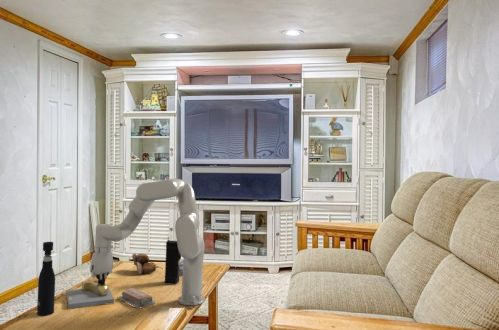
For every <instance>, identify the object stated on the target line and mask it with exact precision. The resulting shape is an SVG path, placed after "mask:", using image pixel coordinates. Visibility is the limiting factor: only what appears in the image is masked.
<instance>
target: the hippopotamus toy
mask: <svg viewBox="0 0 499 330" xmlns="http://www.w3.org/2000/svg"><path fill="white" fill-rule="evenodd" d="M179 275H183V259H181V260H180V267H179Z"/></svg>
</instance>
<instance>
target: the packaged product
mask: <svg viewBox="0 0 499 330" xmlns="http://www.w3.org/2000/svg"><path fill="white" fill-rule="evenodd" d="M119 299H120V300H119ZM117 300H119V301H122V300H123V301H125V302H127V303H129V304H131V305H133V306H134V307H136V308H140V307H144V308H147V307H150V305H151V306H154V304H155V305H156V301H154V300H153V296H152V295H149V294H148V293H146V292H143V291H141V290H139V289H137V288H135V287H129V288H128V289H126V290H124V291H122V292H121V295H120V296H117ZM123 301H122V302H123ZM125 302H124V303H125ZM127 303H126V304H127ZM146 306H147V307H146ZM134 307H133V308H134ZM136 308H135V309H136ZM140 309H141V308H140Z"/></svg>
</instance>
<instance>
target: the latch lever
mask: <svg viewBox="0 0 499 330" xmlns="http://www.w3.org/2000/svg"><path fill="white" fill-rule="evenodd" d="M108 288H109V286H108V285H107V284H105V285H101V284H99V283H98V279H91V280H87V281H81V288H80V289H81V290H83V291H85V290H90V291H92V292H95V293H97V294H98V295H99V296H105V295H107V290H108Z"/></svg>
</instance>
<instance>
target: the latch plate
mask: <svg viewBox="0 0 499 330" xmlns="http://www.w3.org/2000/svg"><path fill="white" fill-rule="evenodd" d="M81 289H82V288H78V289H67V290H65V291H66V292H65V293H66V301H67V307H68V309H69V310H70V309H77V308H85V307H94V306H93V305H95V306H101V305H100V304H104V305H107V304H106V303H112V304H114V303H115V298H114V296H113V294H112V292H111V289H110V287H108V290H107V295H105V296H99V295H98V294H97V293H95V292H92V291H90V290H85V291H83V290H81Z"/></svg>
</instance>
